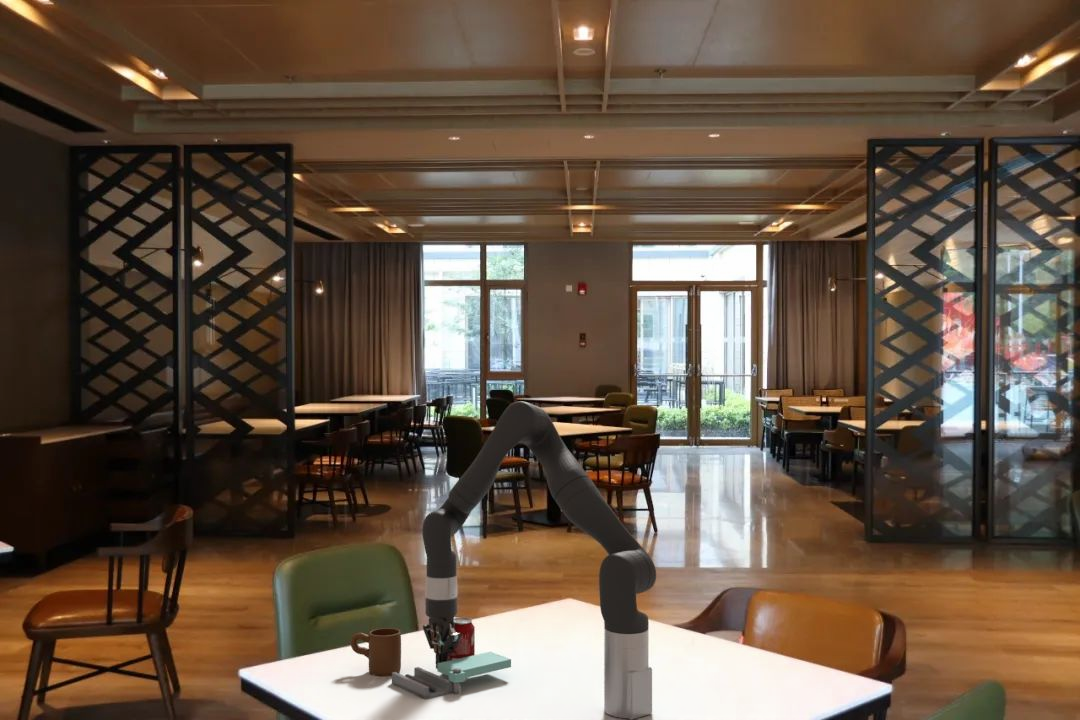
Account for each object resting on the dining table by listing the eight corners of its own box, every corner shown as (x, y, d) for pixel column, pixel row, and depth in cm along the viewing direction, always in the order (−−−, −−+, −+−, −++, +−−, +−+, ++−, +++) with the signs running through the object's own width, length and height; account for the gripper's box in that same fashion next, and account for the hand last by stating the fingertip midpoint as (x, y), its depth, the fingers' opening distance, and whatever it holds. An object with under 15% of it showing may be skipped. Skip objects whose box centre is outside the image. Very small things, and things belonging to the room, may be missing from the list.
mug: (346, 676, 225) (347, 636, 225) (353, 666, 233) (353, 627, 233) (398, 676, 225) (398, 636, 225) (403, 667, 232) (403, 627, 233)
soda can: (470, 675, 226) (470, 624, 226) (442, 674, 227) (442, 622, 227) (477, 667, 232) (477, 617, 232) (450, 665, 234) (450, 615, 234)
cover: (455, 683, 212) (455, 672, 212) (431, 672, 219) (431, 662, 219) (515, 668, 222) (515, 658, 222) (490, 659, 230) (490, 649, 230)
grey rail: (461, 692, 213) (461, 681, 213) (428, 701, 208) (428, 689, 208) (423, 676, 225) (423, 665, 225) (391, 683, 220) (391, 672, 220)
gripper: (471, 597, 224) (471, 672, 223) (439, 587, 234) (439, 659, 233) (444, 602, 219) (443, 679, 218) (412, 592, 229) (412, 665, 229)
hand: (441, 669), depth 226 cm, fingers closed
